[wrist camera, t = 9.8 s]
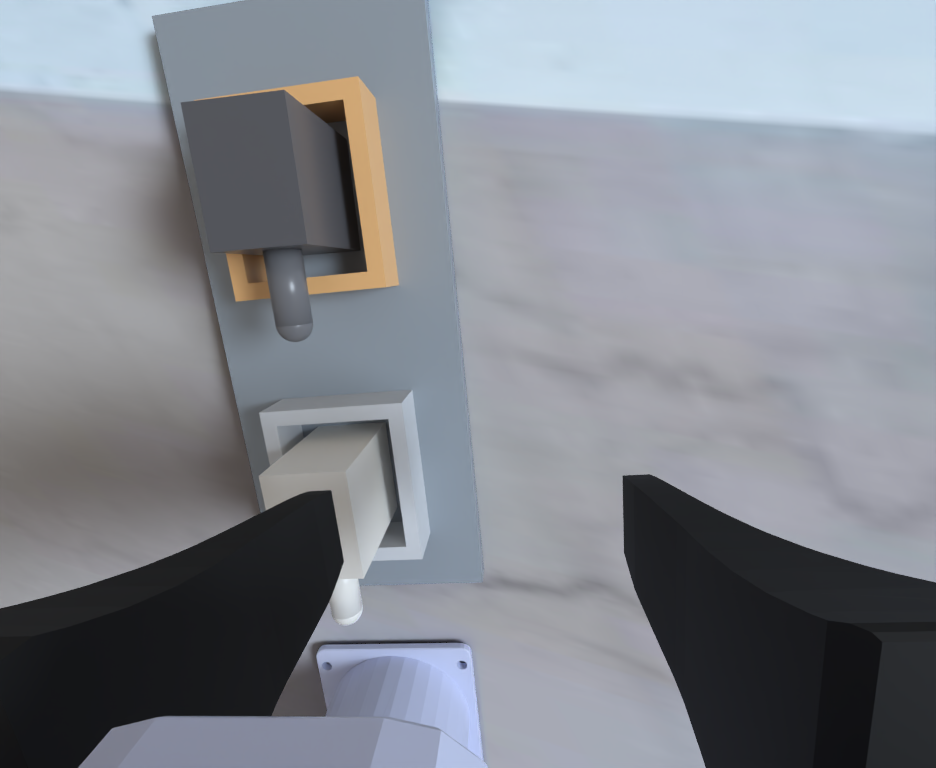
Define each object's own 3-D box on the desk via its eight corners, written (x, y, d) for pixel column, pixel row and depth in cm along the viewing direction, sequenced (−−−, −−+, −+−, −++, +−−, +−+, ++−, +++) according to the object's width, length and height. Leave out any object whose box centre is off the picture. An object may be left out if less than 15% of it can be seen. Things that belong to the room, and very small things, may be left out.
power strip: (483, 568, 22) (475, 673, 17) (286, 574, 23) (213, 675, 18) (426, -13, 17) (383, -160, 11) (171, 29, 18) (9, -85, 12)
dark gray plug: (370, 326, 19) (322, 346, 14) (300, 331, 19) (230, 352, 14) (346, 139, 17) (283, 89, 13) (270, 147, 18) (180, 102, 13)
